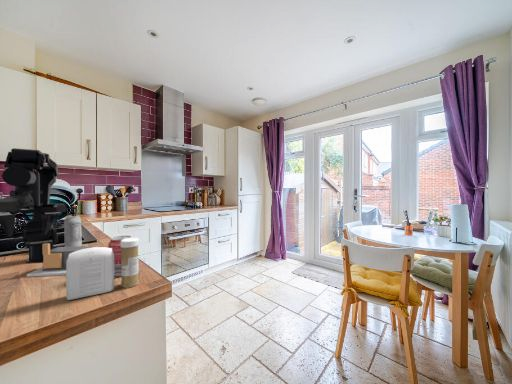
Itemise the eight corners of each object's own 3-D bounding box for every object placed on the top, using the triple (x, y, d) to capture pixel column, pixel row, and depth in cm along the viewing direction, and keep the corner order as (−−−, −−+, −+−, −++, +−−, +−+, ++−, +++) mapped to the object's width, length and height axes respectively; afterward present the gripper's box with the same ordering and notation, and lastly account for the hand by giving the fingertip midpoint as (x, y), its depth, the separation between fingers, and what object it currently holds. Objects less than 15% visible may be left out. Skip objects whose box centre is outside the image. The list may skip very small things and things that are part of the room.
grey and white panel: (26, 276, 68) (26, 255, 68) (58, 262, 81) (57, 244, 81) (89, 273, 70) (88, 253, 70) (110, 260, 83) (109, 243, 83)
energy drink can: (77, 246, 103) (76, 215, 102) (84, 248, 100) (84, 216, 100) (61, 249, 97) (61, 217, 97) (69, 251, 95) (68, 217, 94)
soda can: (130, 267, 76) (130, 234, 75) (136, 273, 71) (136, 237, 70) (106, 273, 71) (105, 237, 70) (111, 280, 66) (110, 241, 65)
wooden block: (42, 268, 70) (42, 244, 70) (45, 267, 71) (44, 243, 71) (59, 268, 71) (59, 243, 71) (61, 267, 72) (61, 243, 72)
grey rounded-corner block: (114, 285, 62) (114, 243, 62) (114, 291, 58) (114, 246, 58) (68, 295, 56) (67, 249, 56) (64, 302, 53) (63, 253, 53)
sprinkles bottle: (118, 285, 62) (118, 239, 62) (135, 280, 66) (135, 236, 65) (124, 290, 59) (123, 242, 59) (141, 284, 63) (141, 239, 63)
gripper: (-38, 187, 59) (-37, 243, 59) (44, 186, 64) (44, 238, 64) (-1, 188, 70) (0, 236, 70) (67, 187, 75) (67, 232, 74)
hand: (27, 235), depth 69 cm, fingers open, 9 cm apart
